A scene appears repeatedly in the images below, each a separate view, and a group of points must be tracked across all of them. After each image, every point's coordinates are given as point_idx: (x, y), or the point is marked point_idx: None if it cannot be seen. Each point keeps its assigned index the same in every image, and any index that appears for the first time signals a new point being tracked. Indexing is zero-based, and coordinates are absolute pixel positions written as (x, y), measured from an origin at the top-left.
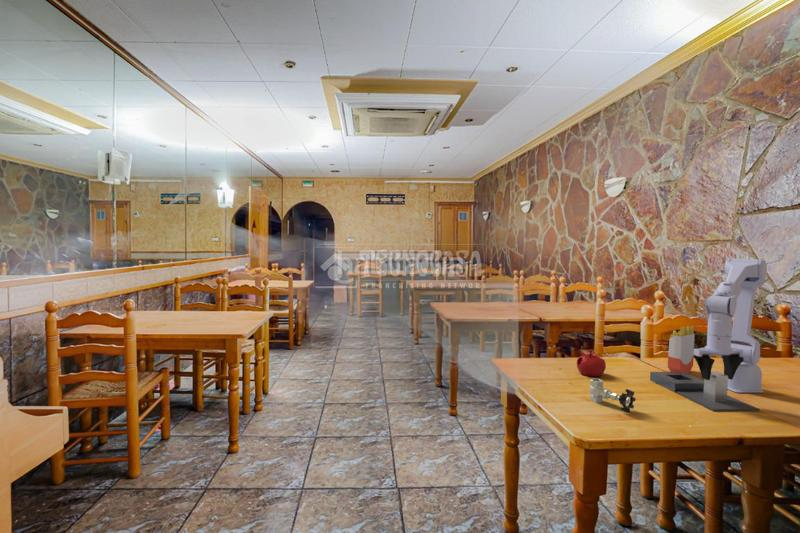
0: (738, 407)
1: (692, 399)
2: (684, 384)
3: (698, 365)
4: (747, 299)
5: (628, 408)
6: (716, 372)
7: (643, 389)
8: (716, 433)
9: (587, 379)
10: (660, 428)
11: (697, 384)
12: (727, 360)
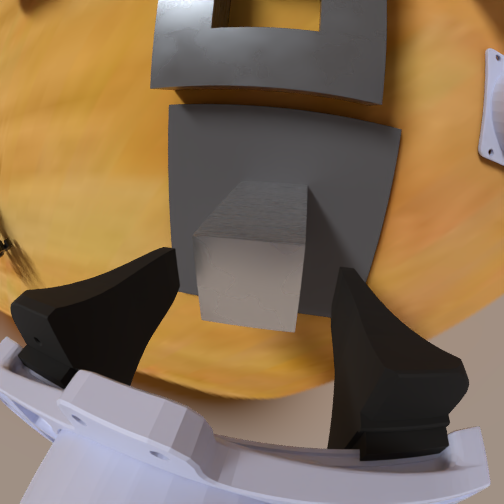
0: None
1: (169, 198)
2: (206, 85)
3: (96, 279)
4: None
5: (4, 251)
6: (284, 263)
7: (80, 69)
8: None
9: (9, 19)
10: None
11: (293, 89)
12: (352, 386)
